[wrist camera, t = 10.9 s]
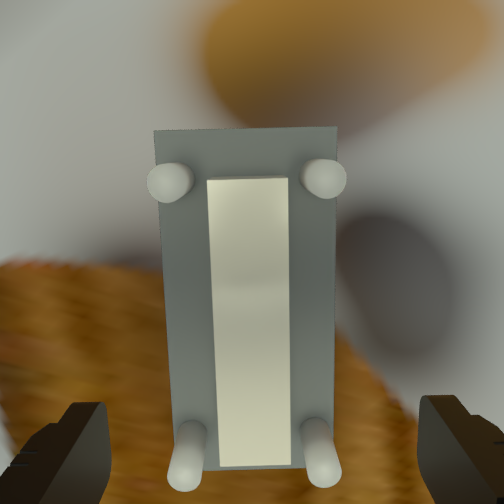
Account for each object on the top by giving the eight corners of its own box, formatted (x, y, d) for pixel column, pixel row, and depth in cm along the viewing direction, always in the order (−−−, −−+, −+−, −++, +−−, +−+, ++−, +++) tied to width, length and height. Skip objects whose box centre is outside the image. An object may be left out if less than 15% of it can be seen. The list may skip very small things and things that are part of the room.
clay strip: (211, 176, 20) (206, 180, 17) (282, 175, 20) (287, 177, 17) (223, 432, 22) (220, 466, 20) (286, 430, 22) (290, 464, 20)
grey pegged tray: (158, 131, 20) (136, 126, 16) (332, 127, 20) (353, 121, 16) (178, 458, 24) (165, 519, 20) (329, 454, 24) (345, 513, 20)
